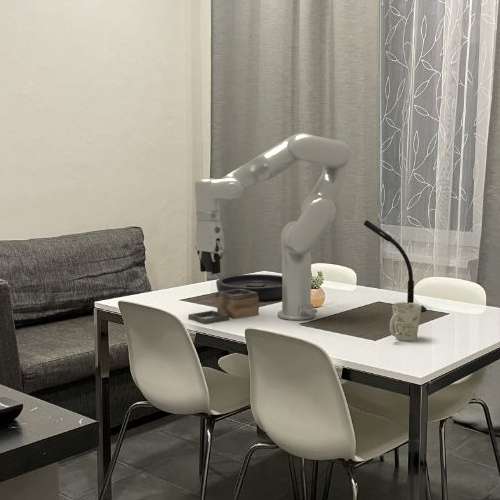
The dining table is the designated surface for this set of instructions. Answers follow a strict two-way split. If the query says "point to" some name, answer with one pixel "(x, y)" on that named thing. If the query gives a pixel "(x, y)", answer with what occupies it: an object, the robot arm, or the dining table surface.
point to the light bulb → (207, 263)
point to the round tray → (254, 285)
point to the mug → (405, 321)
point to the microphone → (387, 237)
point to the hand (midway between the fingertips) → (210, 271)
